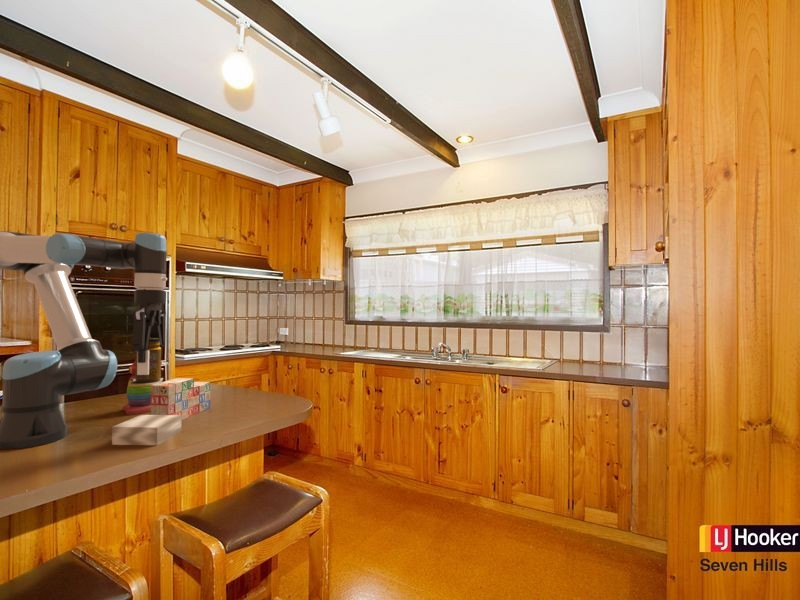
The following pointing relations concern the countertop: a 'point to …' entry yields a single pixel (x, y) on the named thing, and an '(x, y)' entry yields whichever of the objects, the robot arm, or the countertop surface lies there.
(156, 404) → the stack of blocks
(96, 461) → the countertop surface
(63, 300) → the robot arm
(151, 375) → the condiment
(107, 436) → the countertop surface
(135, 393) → the stacking bear
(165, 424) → the birch block
